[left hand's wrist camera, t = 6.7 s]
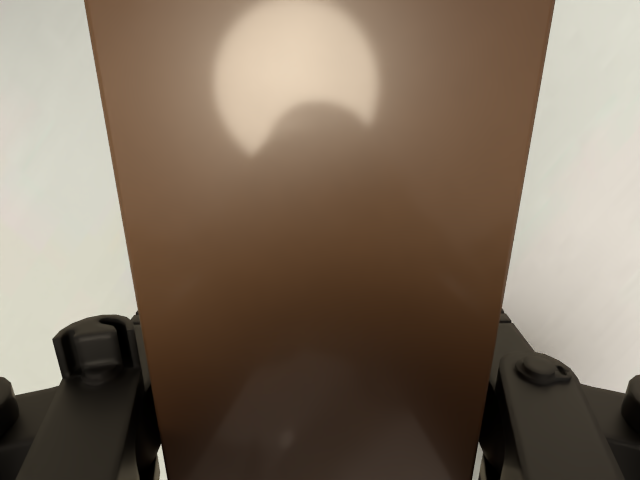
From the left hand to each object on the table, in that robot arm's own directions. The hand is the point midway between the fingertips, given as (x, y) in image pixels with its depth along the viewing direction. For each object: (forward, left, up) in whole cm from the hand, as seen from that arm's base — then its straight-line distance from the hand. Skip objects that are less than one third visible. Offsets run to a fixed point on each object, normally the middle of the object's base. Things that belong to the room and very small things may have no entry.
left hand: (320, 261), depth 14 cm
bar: (+7, 0, -1) cm, 7 cm away
